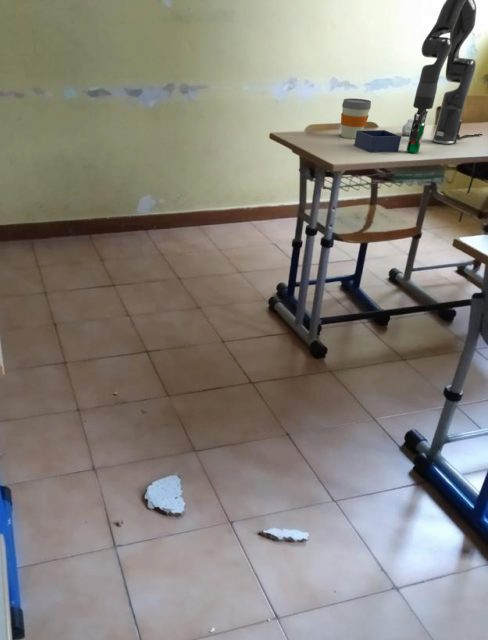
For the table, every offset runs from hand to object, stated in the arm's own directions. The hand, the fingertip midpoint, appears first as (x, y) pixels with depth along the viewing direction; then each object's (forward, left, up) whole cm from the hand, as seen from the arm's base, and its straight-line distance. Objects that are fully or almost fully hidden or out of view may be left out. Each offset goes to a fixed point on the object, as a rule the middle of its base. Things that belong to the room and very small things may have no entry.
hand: (415, 139), depth 251 cm
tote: (+12, -9, -5) cm, 16 cm away
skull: (-21, -34, -5) cm, 40 cm away
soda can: (0, 0, -5) cm, 5 cm away
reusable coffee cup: (+11, -33, -5) cm, 35 cm away
